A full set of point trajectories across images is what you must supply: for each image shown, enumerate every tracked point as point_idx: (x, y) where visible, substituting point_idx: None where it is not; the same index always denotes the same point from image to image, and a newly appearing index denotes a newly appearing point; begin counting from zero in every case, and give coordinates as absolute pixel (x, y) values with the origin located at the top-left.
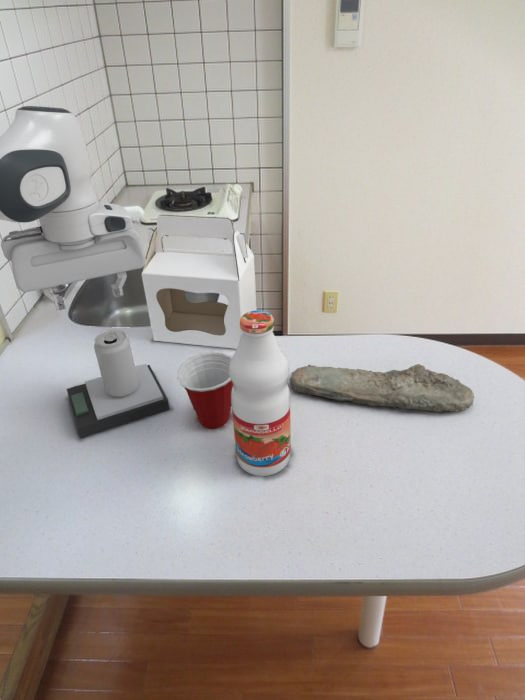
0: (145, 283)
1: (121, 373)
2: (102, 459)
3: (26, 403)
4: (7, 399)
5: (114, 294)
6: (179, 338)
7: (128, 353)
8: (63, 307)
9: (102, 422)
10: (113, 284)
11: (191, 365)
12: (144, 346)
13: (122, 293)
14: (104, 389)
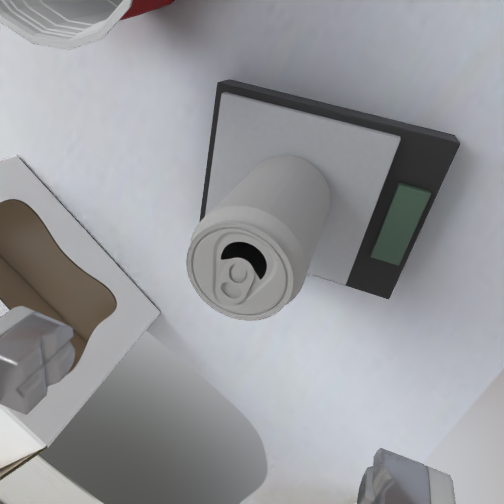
0: (63, 416)
1: (277, 178)
2: (464, 11)
3: (470, 336)
4: (492, 374)
5: (51, 336)
6: (112, 273)
7: (222, 201)
8: (398, 464)
9: (392, 124)
10: (11, 406)
11: (85, 31)
12: (182, 311)
13: (9, 312)
14: (324, 225)
